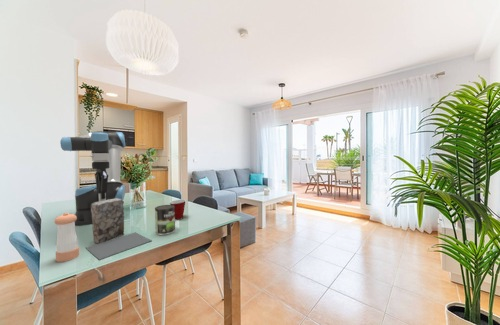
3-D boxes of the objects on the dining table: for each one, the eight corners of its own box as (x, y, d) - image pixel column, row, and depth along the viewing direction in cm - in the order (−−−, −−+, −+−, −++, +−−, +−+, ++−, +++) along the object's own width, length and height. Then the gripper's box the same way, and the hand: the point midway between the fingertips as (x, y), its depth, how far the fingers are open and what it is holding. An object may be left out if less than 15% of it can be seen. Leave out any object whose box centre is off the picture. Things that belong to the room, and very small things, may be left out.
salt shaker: (83, 252, 89) (81, 210, 88) (69, 261, 81) (66, 215, 80) (66, 253, 88) (64, 210, 88) (50, 262, 81) (48, 216, 80)
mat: (85, 248, 93) (85, 247, 93) (135, 232, 111) (135, 232, 111) (99, 260, 82) (99, 259, 82) (151, 241, 100) (151, 240, 100)
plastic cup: (174, 215, 142) (173, 198, 141) (188, 215, 140) (188, 199, 140) (166, 220, 131) (165, 202, 130) (182, 220, 130) (181, 202, 129)
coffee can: (179, 230, 114) (178, 206, 113) (163, 236, 105) (162, 210, 105) (167, 226, 119) (167, 203, 119) (151, 232, 111) (150, 207, 110)
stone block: (100, 244, 97) (98, 204, 96) (91, 242, 99) (89, 202, 98) (126, 234, 109) (124, 198, 108) (117, 232, 112) (116, 197, 111)
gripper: (88, 161, 108) (90, 204, 109) (96, 161, 100) (98, 208, 101) (104, 161, 114) (106, 201, 115) (113, 161, 106) (115, 204, 107)
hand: (102, 204), depth 108 cm, fingers closed
